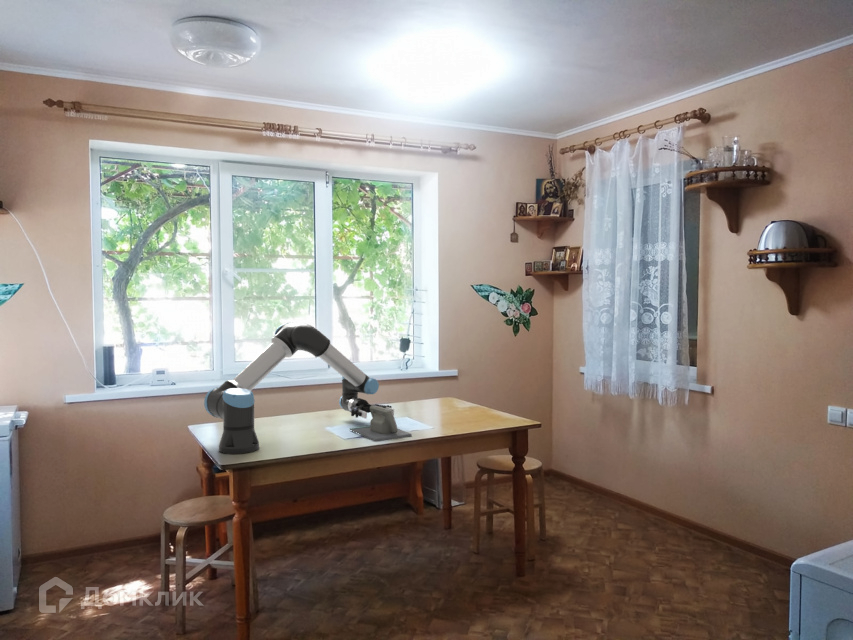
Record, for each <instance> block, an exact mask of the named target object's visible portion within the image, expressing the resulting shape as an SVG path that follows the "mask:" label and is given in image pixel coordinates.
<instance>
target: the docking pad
mask: <svg viewBox="0 0 853 640" xmlns="http://www.w3.org/2000/svg"><path fill="white" fill-rule="evenodd" d="M350 430H352V431H354V432H357V433H359V434H361V435H362V436H361V437H363V436H364V437H363V438H366V439H368V440H370V441H372V442H381V441H388V440H394V439H402V438H408V437H412V433H409V432H408V431H405V430H402V429H399V428H398V432H397V433H392V432H390V433H384V434H381V433H378V432H374V431H371V430H370V425H364V426H357V427H350V428H349V431H350Z"/></svg>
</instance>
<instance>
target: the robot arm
mask: <svg viewBox="0 0 853 640" xmlns="http://www.w3.org/2000/svg"><path fill="white" fill-rule="evenodd" d="M298 351H304V352H307V353H309V354H312V355H313V356H314V357H315V358H320V359H321V360H323V362H325V364H327V365H328V366H329V367H331V368H332V369H333V370H334V371H335V372H337V373H338V374H339V375H340V376H342V377H341V386H342V387H341V389H342V394H341V396H340V397H339V400H338V404H339V407H340V408H341V409H343V410H344V411H347V412H350V415H351V417H354V416H355V418H359V417H360V418H362V419H367V418H368V414H369V413H371V412H370V406H371V405H372V404H370V403H369V402H368V401H367V400H366V399H363V398H360V397H359V393H361V394H366V395H375V394H377V392H378V391H379V388H380V387H379V386H380V384H379V381H378V380H377V379H376V378H373V377H369V376H368V375H367V374H366V373H365V372H363V371H362V370H361V369H360V368H359V367H358V366H357V365H355V364H354V363H353V362H352V361H351V360H350V359H349V358H347V357H346V356H345V355H344V354H343V353H342V352H341V351H339V350H338V349H337V348H336V347H335V346H333V344H331V340H330V339H329V338H328V337H327V336H326V335H325V334H323V333H322V332H321V331H320V330H318V329H317V328H316V327H314V326H313V325H311V324H307V323H297V322H296V323H294V322H287V323H283V324H280V325H279V326H278V327H277V328H276V329H275V332H274V336H273V337H272V338H271V343H270V344H269V345H268V346H267V347H266V348H265V349H264V350H263V351H262V352H260V354H258V355H257V357H255V358H254V359H253V360H252V361H250V363H249V364H248V365H247V366H246V367H245V368H243V370H242V371H240V373H238V374H237V375H236V376H235V377H234V378H233V379H232V380H229V379H228V380H225V381H224V382H223V383H222V384H221V385H220V386H219V387H214V388H212V389H210V390H208V391H207V393H206V394H205V396H204V399H203V400H204V401H203V405H204V406H203V407H204V410H205V411H206V412H207V413H208V414H209V415H211V416H212V417H213V418H216V419H217V418H218V419H221V420H223V421H222V423H223V424H222V425H223V429H222V430H223V431H222V434H221V437H220V440H219V444H218V451H221V452H224V453H223V454H226V453H230V454H229V455H236V454H237V455H238V454H239V453H241V454H246V453H252V452H255V451H257V450H259V449H260V441H259V438H258V435H257V432H256V430H255V402H256V401H255V395H254V392H253V391H252V390H253V389H255V388H256V387H257V386H258V385H259V384H260V383H261V382H262V381H263V380H264V379H265V378H266V377H267V376H268V375H269V374H270V373H271V372H272V371H273V370H274V369H275V368H276V367H277V366H278V365H279V364H280V363H281V362H282V361H284V359H285V358H291V357H293V356H294V355H295V353H296V352H298ZM373 405H374V406H378V407H382V408H386V409H390V410H392V412H393V415H394V416H395V409H394V408H393V407H392V406H391V405H389V404H387V405H385V404H378V403H374V404H373ZM221 452H220V453H221Z"/></svg>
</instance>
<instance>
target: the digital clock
mask: <svg viewBox="0 0 853 640" xmlns="http://www.w3.org/2000/svg"><path fill="white" fill-rule="evenodd" d="M370 405H371V406H370V412H369V413H370V414H371V417H372V418H371V419H370V423H369V426H370V430H371V431H374V432H378V433H381V434H384V433H390V432H392V433H397V432H398V429H399V427H398V426H397V422H396V419H395V418H396V417H395V414H394V415H393V412H392V410H390V409H386V408H382V407H378V406H374V405H375V404H370Z"/></svg>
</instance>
